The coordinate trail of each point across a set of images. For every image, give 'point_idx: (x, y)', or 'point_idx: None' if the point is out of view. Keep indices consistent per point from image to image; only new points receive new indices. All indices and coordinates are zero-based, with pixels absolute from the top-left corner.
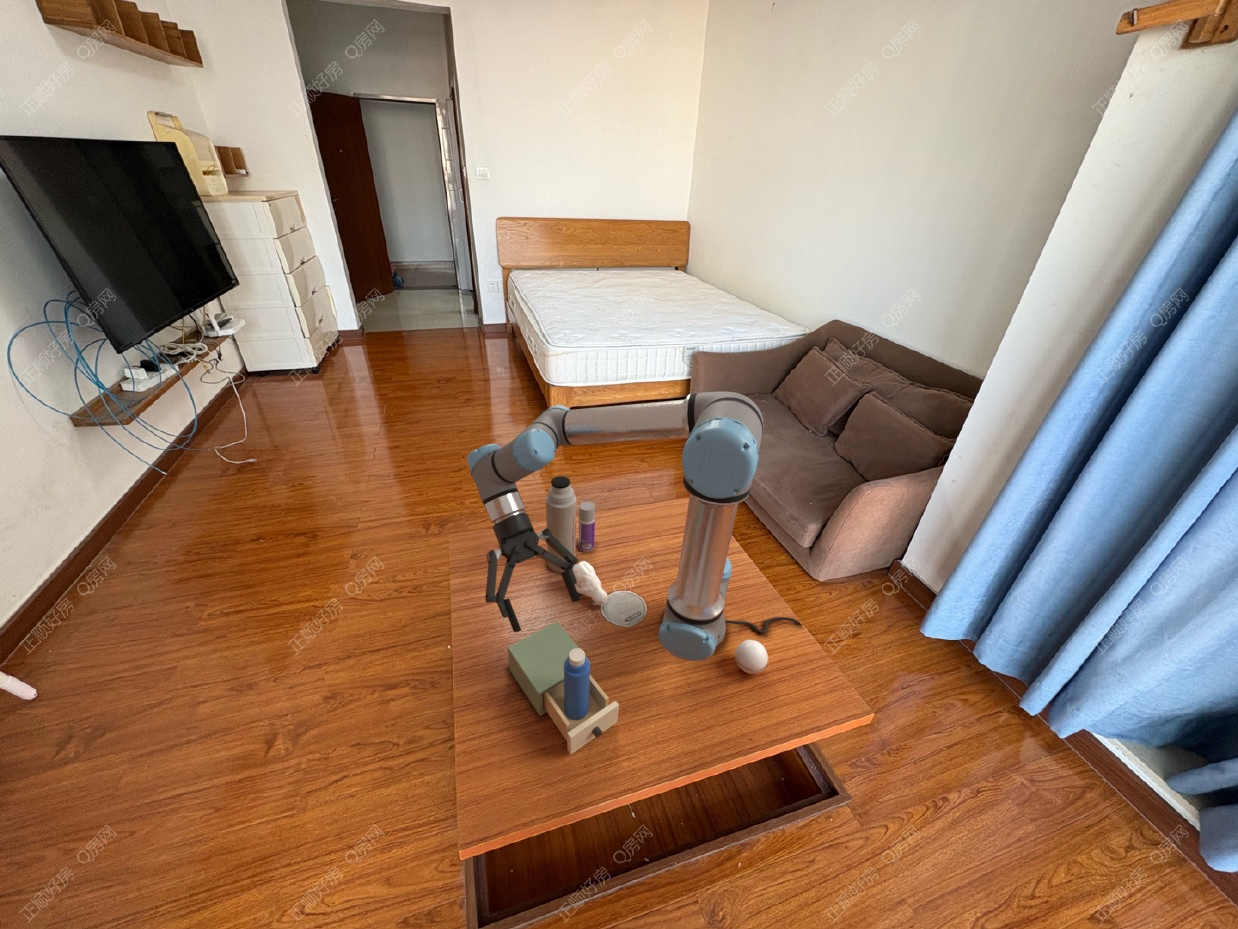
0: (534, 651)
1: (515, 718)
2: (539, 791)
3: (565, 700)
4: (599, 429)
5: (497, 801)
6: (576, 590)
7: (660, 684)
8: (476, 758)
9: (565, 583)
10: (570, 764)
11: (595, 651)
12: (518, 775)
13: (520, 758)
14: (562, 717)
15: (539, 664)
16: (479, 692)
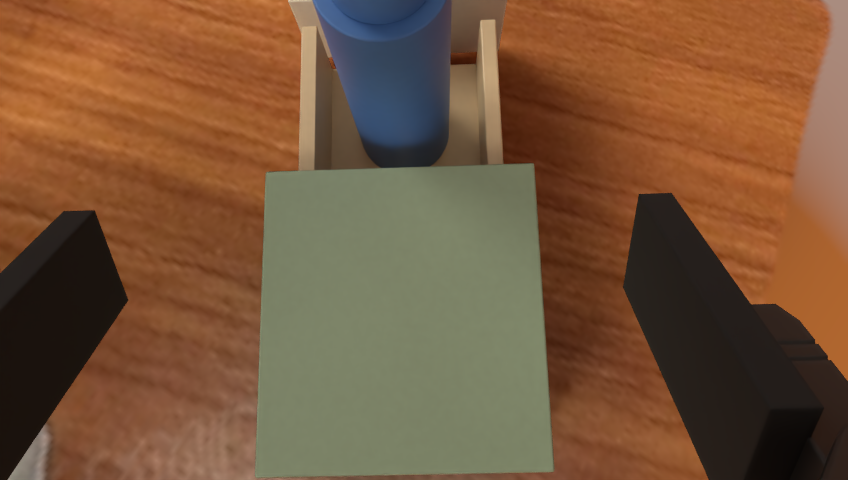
0: (450, 368)
1: (592, 248)
2: (620, 12)
3: (449, 97)
4: None
5: (737, 50)
6: (13, 263)
7: (102, 83)
8: (756, 194)
9: (34, 415)
10: (506, 27)
11: (194, 328)
12: (656, 80)
13: (631, 120)
14: (492, 51)
15: (464, 288)
16: (672, 422)
